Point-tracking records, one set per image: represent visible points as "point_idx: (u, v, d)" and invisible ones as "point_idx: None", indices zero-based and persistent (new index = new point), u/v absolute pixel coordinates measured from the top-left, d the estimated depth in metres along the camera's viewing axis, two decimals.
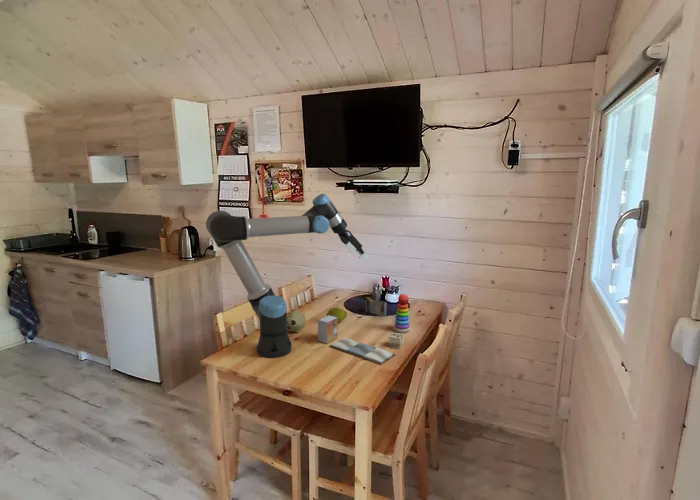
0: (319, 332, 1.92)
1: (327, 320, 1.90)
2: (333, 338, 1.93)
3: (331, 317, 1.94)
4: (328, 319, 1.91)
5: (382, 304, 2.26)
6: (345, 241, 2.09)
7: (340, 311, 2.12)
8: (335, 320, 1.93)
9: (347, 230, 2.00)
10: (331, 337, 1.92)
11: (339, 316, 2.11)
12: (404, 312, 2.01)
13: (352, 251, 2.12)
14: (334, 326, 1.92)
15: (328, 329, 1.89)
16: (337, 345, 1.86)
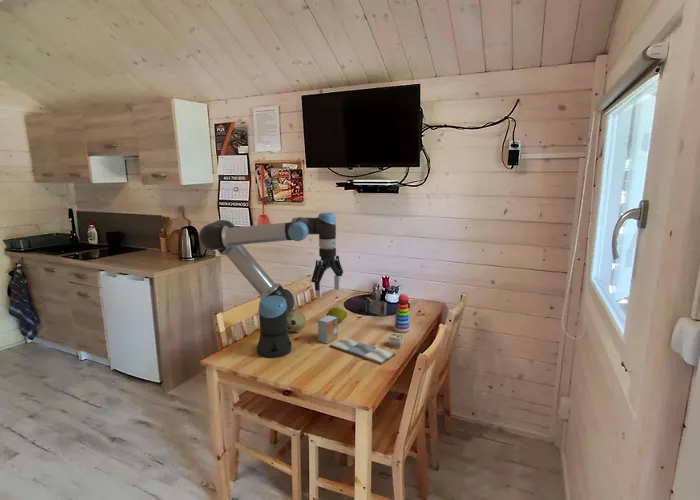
0: (319, 332, 1.92)
1: (327, 320, 1.90)
2: (333, 338, 1.93)
3: (331, 317, 1.94)
4: (328, 319, 1.91)
5: (382, 304, 2.26)
6: (335, 272, 1.94)
7: (340, 311, 2.12)
8: (335, 320, 1.93)
9: (328, 261, 1.85)
10: (331, 337, 1.92)
11: (339, 316, 2.11)
12: (404, 312, 2.01)
13: (335, 286, 1.96)
14: (334, 326, 1.92)
15: (328, 329, 1.89)
16: (337, 345, 1.86)
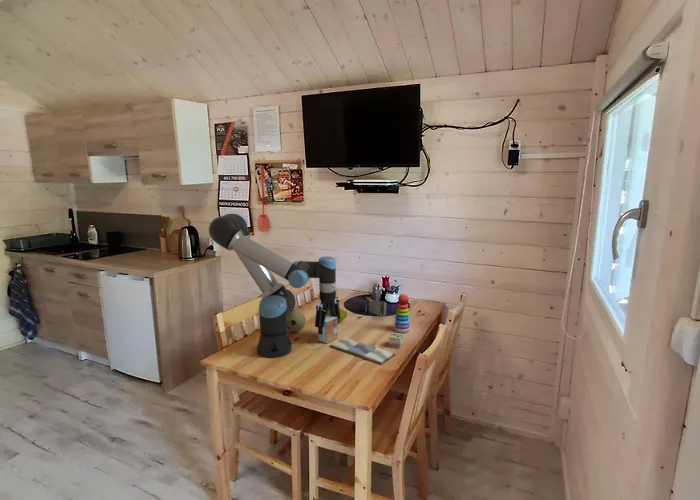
0: None
1: (327, 320, 1.90)
2: (333, 338, 1.93)
3: (331, 317, 1.94)
4: (328, 319, 1.91)
5: (382, 304, 2.26)
6: None
7: (340, 311, 2.12)
8: (335, 320, 1.93)
9: (328, 305, 1.88)
10: (331, 337, 1.92)
11: None
12: (404, 312, 2.01)
13: None
14: (334, 326, 1.92)
15: (328, 329, 1.89)
16: (337, 345, 1.86)
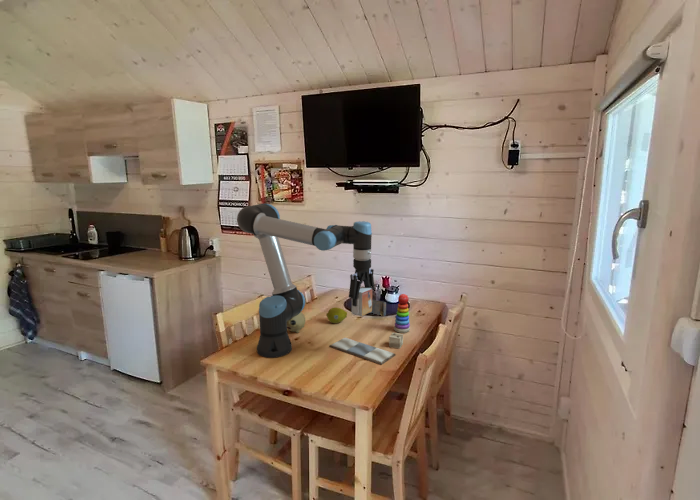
0: None
1: (362, 291, 1.75)
2: (368, 311, 1.78)
3: (365, 288, 1.79)
4: (363, 290, 1.76)
5: (382, 304, 2.26)
6: None
7: (340, 311, 2.12)
8: (370, 291, 1.77)
9: (363, 274, 1.73)
10: (366, 310, 1.77)
11: (339, 316, 2.11)
12: (404, 312, 2.01)
13: None
14: (368, 297, 1.77)
15: (363, 300, 1.74)
16: (337, 345, 1.86)
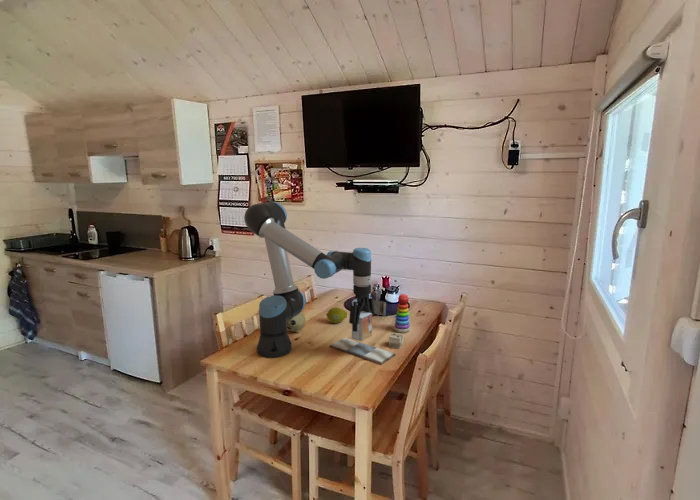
0: None
1: (362, 316, 1.77)
2: (368, 335, 1.80)
3: (365, 313, 1.81)
4: (363, 315, 1.78)
5: (381, 304, 2.26)
6: None
7: (340, 311, 2.12)
8: (370, 316, 1.80)
9: (363, 300, 1.75)
10: (366, 334, 1.79)
11: (339, 316, 2.11)
12: (404, 312, 2.01)
13: None
14: (368, 322, 1.79)
15: (363, 326, 1.76)
16: (337, 345, 1.86)
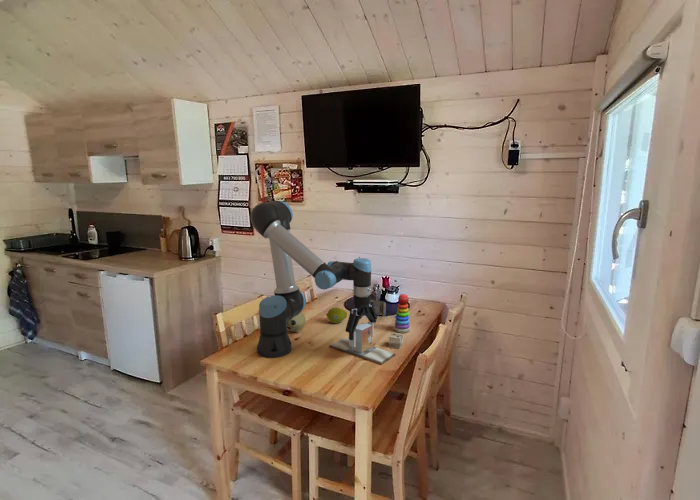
0: None
1: (362, 328, 1.78)
2: (368, 347, 1.82)
3: (365, 324, 1.82)
4: (363, 327, 1.79)
5: (381, 304, 2.26)
6: (368, 318, 1.85)
7: (340, 311, 2.12)
8: (370, 328, 1.81)
9: (363, 309, 1.76)
10: (366, 346, 1.80)
11: (339, 316, 2.11)
12: (404, 312, 2.01)
13: None
14: (368, 334, 1.81)
15: (363, 337, 1.78)
16: (337, 345, 1.86)
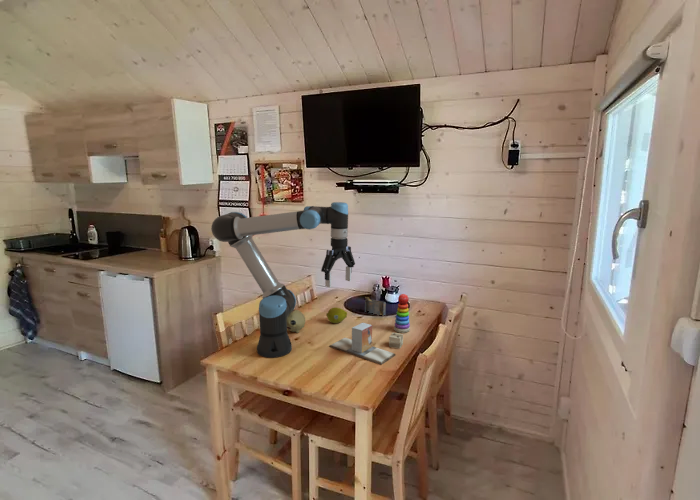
0: (353, 340, 1.80)
1: (362, 328, 1.78)
2: (368, 347, 1.82)
3: (365, 324, 1.82)
4: (363, 327, 1.79)
5: (381, 304, 2.26)
6: (346, 263, 1.91)
7: (340, 311, 2.12)
8: (370, 328, 1.81)
9: (339, 251, 1.83)
10: (366, 346, 1.80)
11: (339, 316, 2.11)
12: (404, 312, 2.01)
13: (346, 277, 1.93)
14: (368, 334, 1.81)
15: (363, 337, 1.78)
16: (337, 345, 1.86)
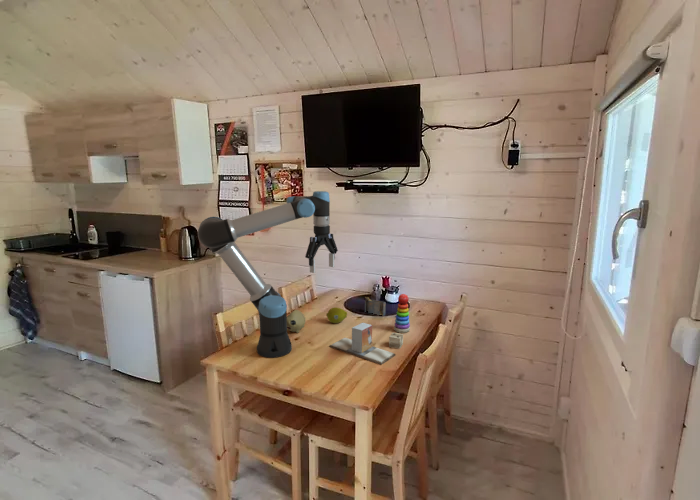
0: (353, 340, 1.80)
1: (362, 328, 1.78)
2: (368, 347, 1.82)
3: (365, 324, 1.82)
4: (363, 327, 1.79)
5: (381, 304, 2.26)
6: (329, 250, 2.00)
7: (340, 311, 2.12)
8: (370, 328, 1.81)
9: (322, 238, 1.91)
10: (366, 346, 1.80)
11: (339, 316, 2.11)
12: (404, 312, 2.01)
13: (330, 263, 2.01)
14: (368, 334, 1.81)
15: (363, 337, 1.78)
16: (337, 345, 1.86)
